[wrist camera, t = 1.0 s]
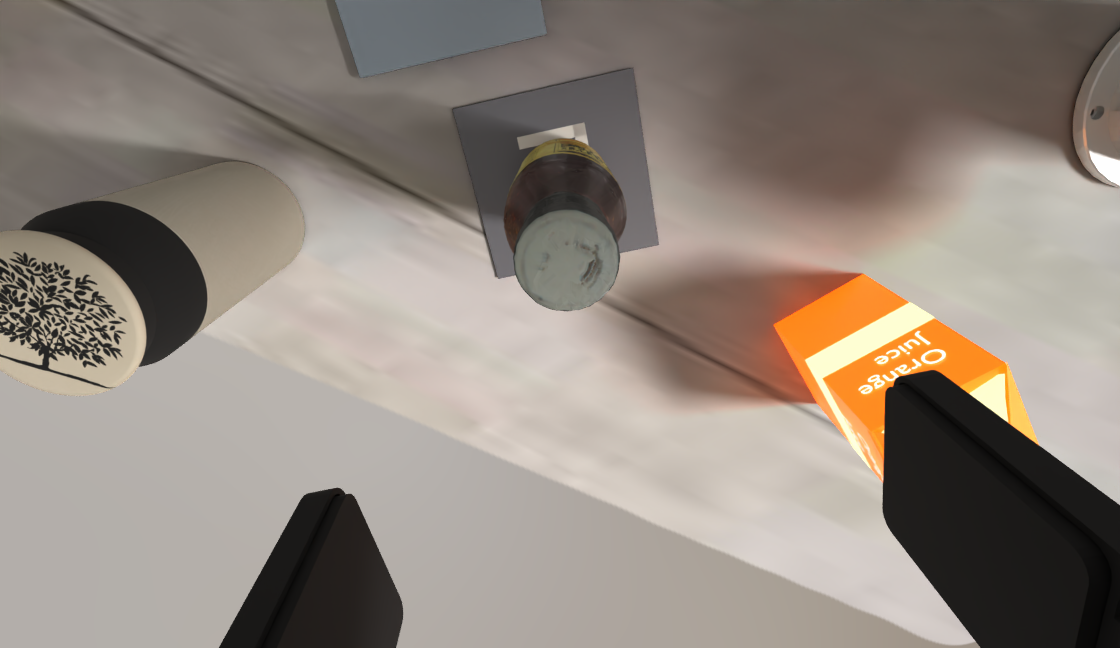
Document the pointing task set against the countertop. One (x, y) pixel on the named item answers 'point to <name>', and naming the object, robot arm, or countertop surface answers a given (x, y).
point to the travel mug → (138, 273)
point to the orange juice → (886, 361)
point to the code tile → (551, 113)
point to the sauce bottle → (565, 225)
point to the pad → (432, 29)
